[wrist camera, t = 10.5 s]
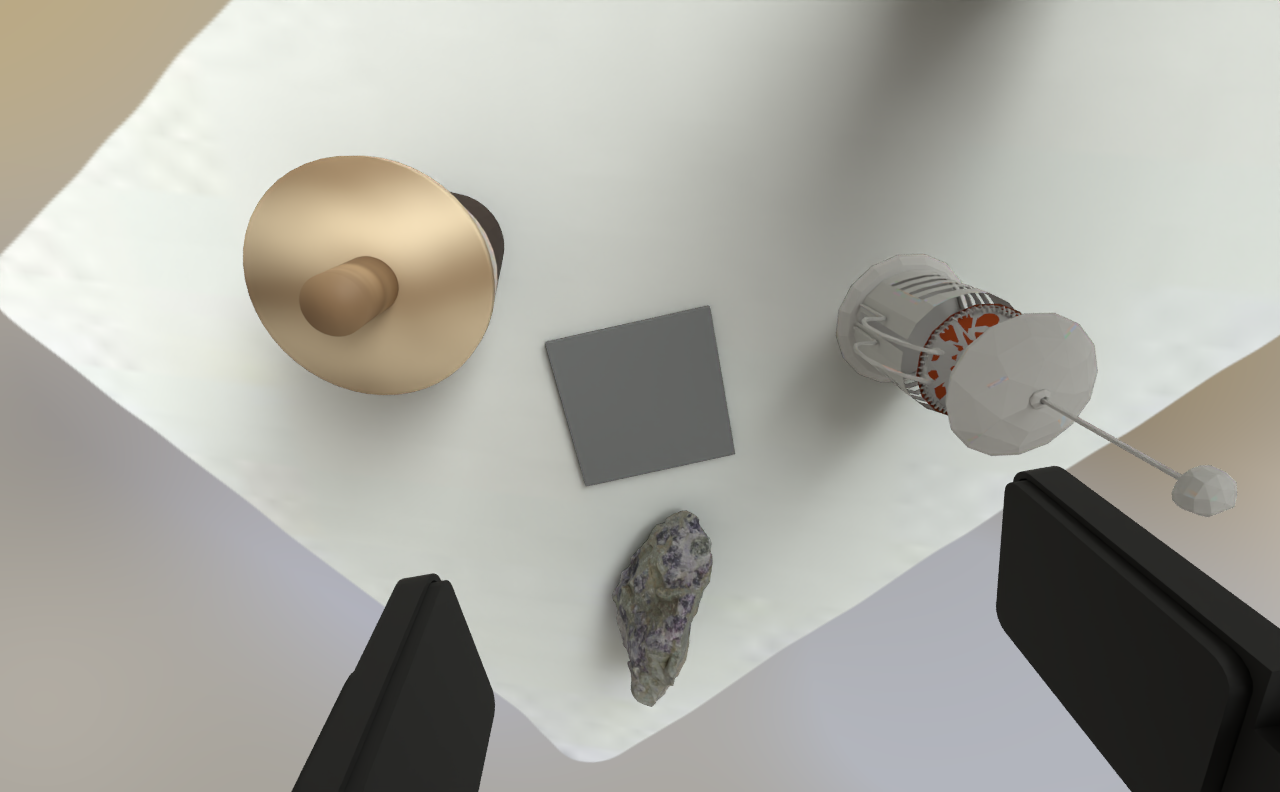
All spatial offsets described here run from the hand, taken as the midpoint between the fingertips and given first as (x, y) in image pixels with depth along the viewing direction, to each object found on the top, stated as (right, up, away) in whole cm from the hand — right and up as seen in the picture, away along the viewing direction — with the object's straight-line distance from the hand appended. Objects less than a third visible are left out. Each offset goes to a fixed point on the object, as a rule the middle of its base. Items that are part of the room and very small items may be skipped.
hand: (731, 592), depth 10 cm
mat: (-1, +3, +35) cm, 36 cm away
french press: (+17, +9, +34) cm, 39 cm away
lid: (-15, +9, +21) cm, 28 cm away
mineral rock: (+1, -12, +42) cm, 44 cm away
